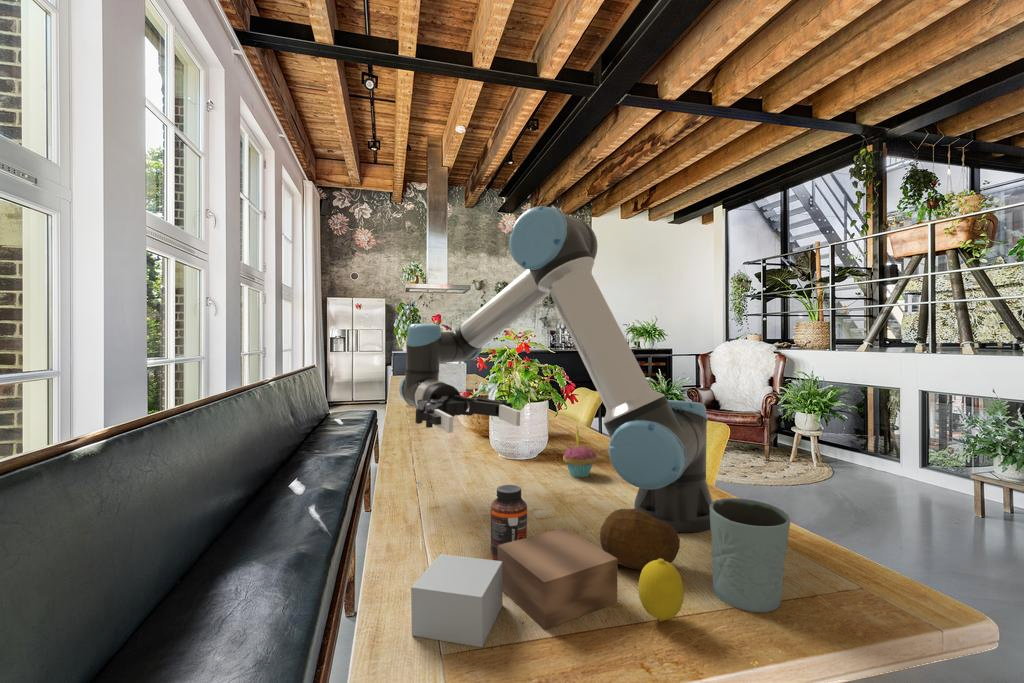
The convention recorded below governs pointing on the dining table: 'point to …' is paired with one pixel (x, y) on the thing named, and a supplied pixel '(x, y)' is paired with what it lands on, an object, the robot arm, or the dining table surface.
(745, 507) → the grey green planter pot
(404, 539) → the dining table surface
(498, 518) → the supplement bottle
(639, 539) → the potato
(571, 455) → the cupcake
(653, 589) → the lemon
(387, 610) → the dining table surface
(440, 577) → the grey block
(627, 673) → the dining table surface
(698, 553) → the dining table surface
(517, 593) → the walnut block
